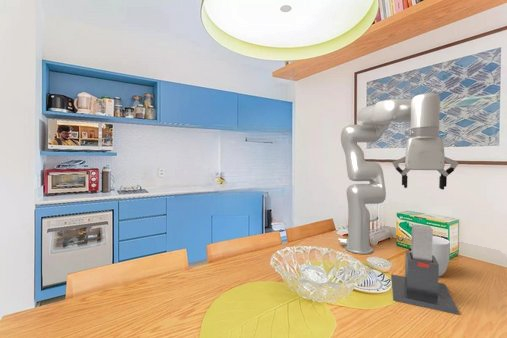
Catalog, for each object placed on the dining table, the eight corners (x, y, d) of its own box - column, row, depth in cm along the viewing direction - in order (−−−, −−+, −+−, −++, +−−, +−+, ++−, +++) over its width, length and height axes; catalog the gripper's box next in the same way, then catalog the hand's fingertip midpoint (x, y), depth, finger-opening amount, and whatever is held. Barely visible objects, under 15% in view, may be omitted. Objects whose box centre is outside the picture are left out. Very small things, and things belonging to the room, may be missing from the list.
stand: (393, 300, 78) (393, 262, 78) (391, 278, 93) (391, 246, 92) (457, 314, 71) (459, 272, 71) (444, 288, 86) (446, 253, 85)
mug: (426, 283, 89) (427, 246, 88) (399, 270, 100) (400, 237, 99) (456, 277, 93) (457, 242, 93) (428, 265, 104) (428, 233, 103)
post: (411, 289, 81) (413, 228, 80) (410, 282, 85) (411, 224, 84) (431, 293, 79) (433, 230, 78) (428, 286, 83) (430, 225, 82)
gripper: (393, 134, 80) (392, 188, 81) (462, 131, 73) (460, 191, 73) (392, 136, 87) (391, 185, 88) (455, 134, 79) (453, 188, 80)
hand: (423, 188), depth 81 cm, fingers open, 9 cm apart
